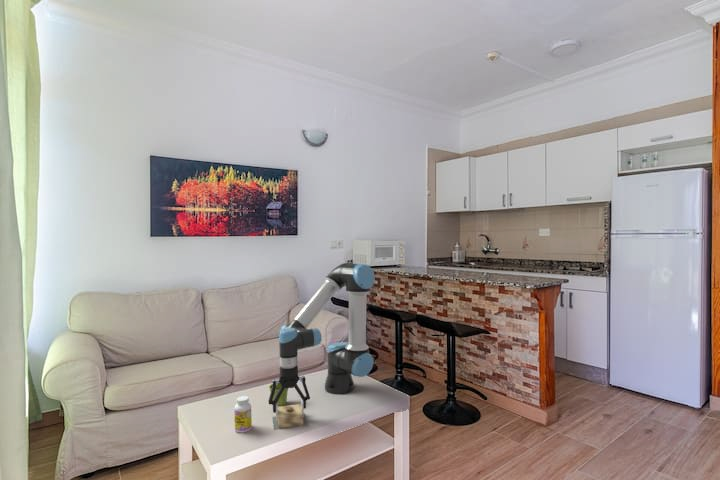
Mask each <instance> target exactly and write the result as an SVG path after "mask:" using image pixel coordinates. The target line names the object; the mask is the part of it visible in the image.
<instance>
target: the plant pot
mask: <svg viewBox="0 0 720 480" xmlns="http://www.w3.org/2000/svg"><path fill="white" fill-rule="evenodd" d="M272 386H273V383H272V384H270V385H269V386H268V389H269V392H271V389H272ZM280 387H281V384H280V382H278V385H276V389H275V393H274V396H273V400H274V398H275V397H276V395H277V393H278V391H279V389H280ZM288 391H289V388H288V389H286V388H285V389H284V391H283V392H282V394H281V396H280V398H279V400H278V402H277V403H278V407H281V406H286V405H287V400H288Z"/></svg>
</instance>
